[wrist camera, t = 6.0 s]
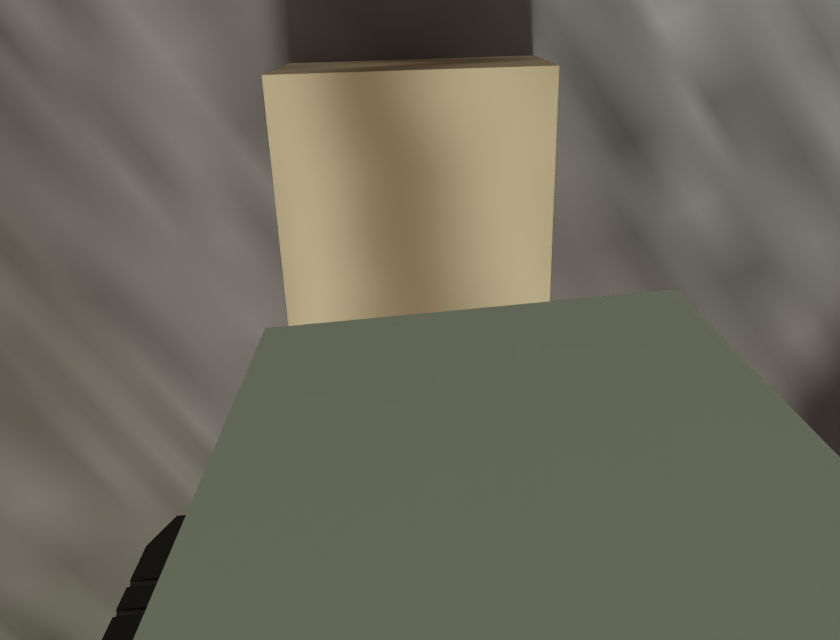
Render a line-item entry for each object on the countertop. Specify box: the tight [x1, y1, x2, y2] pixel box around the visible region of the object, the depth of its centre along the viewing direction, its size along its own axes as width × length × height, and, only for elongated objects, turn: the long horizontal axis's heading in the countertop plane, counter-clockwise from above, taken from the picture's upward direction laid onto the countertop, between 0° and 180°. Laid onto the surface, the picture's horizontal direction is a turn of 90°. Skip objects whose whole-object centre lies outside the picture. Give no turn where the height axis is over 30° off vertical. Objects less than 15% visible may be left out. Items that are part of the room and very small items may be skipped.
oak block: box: [262, 55, 559, 326], centre depth 24 cm, size 8×8×5 cm
